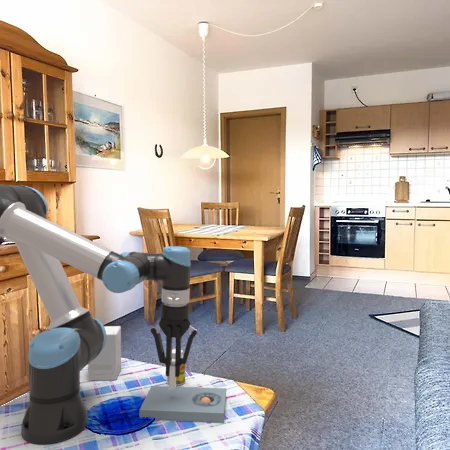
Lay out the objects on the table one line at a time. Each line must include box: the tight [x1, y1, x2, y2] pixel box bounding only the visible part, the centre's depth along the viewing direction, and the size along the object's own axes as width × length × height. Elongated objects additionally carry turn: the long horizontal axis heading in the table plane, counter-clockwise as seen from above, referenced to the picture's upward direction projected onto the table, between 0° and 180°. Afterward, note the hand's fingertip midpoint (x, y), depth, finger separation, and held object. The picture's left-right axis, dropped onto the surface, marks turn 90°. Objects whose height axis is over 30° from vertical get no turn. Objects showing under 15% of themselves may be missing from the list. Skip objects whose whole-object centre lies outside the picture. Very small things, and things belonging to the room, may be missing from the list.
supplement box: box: [87, 325, 122, 381], centre depth 132 cm, size 9×9×15 cm
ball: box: [201, 397, 211, 403], centre depth 112 cm, size 3×3×3 cm
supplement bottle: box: [166, 348, 186, 387], centre depth 127 cm, size 6×6×10 cm
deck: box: [138, 385, 227, 424], centre depth 112 cm, size 22×14×2 cm, turn 87°
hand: (172, 387), depth 112 cm, fingers closed
